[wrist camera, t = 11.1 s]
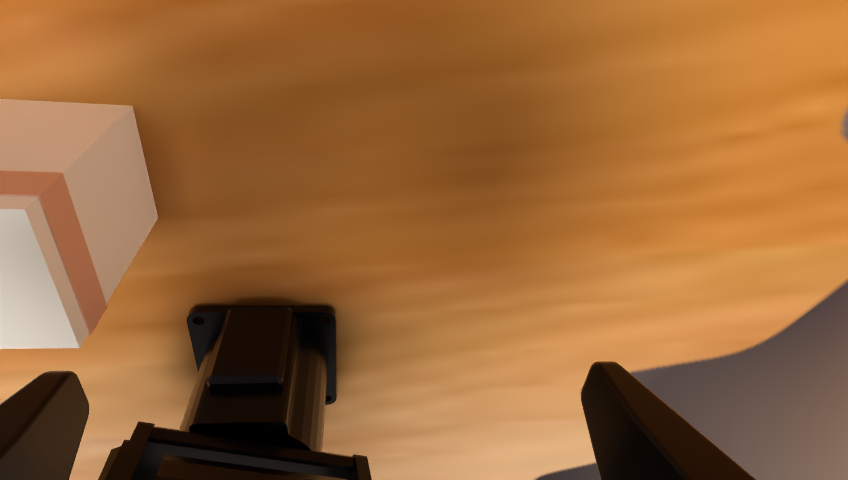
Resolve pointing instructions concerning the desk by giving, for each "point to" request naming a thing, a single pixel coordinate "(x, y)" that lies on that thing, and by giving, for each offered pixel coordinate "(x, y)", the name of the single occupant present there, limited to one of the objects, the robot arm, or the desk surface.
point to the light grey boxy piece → (67, 216)
